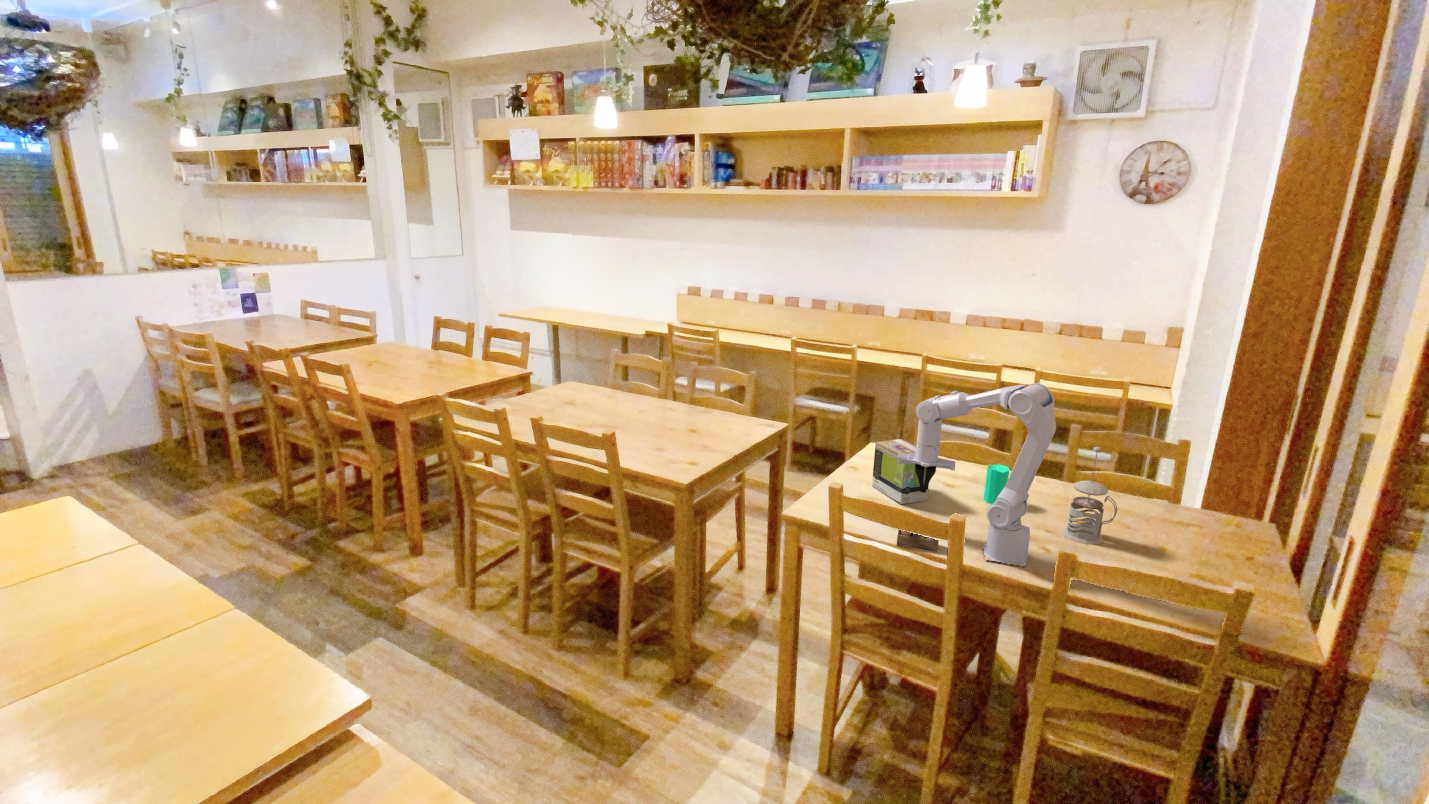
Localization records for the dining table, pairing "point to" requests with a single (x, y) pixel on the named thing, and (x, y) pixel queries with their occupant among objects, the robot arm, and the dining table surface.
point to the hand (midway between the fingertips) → (923, 491)
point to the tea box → (896, 472)
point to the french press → (1087, 530)
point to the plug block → (917, 542)
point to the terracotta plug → (905, 533)
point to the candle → (995, 482)
